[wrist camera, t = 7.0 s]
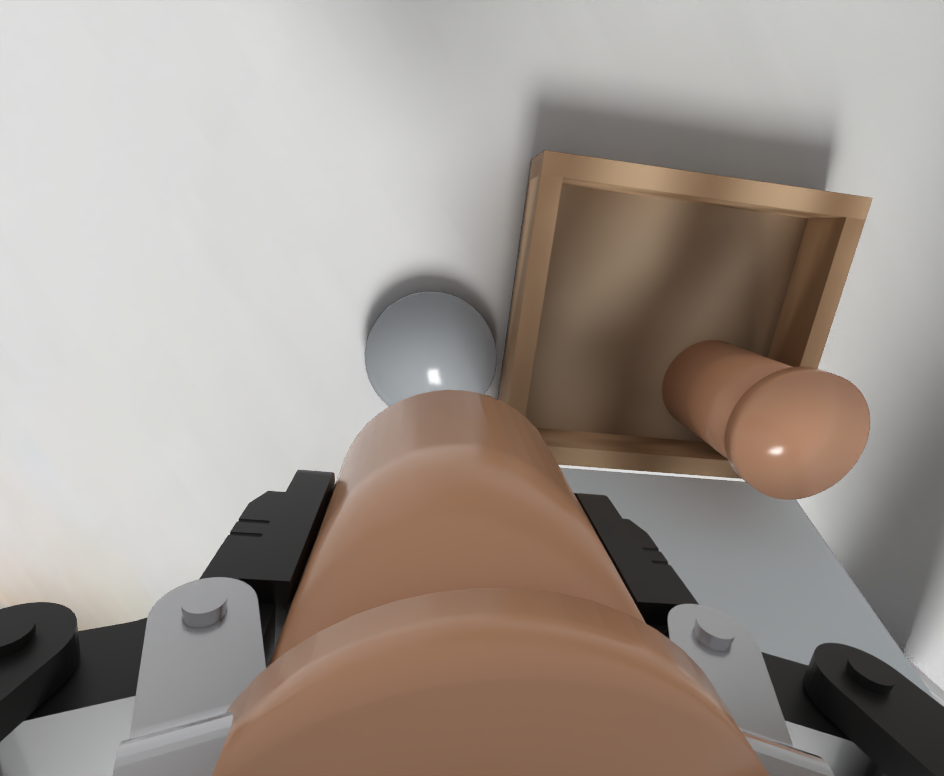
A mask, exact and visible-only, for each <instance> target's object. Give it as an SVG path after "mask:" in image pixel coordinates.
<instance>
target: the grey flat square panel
mask: <svg viewBox="0 0 944 776" xmlns="http://www.w3.org/2000/svg"><path fill="white" fill-rule="evenodd" d="M560 469H561V471H562V473H563V475H564V476H565V478H566V480H567V482H568V484H569V485H570V487H571V489H572V491H573V493H584V494H596V495H606V496H607V497H608V498H609V499H610V501H611V502H612V504H613V505H614V507H615V508H616V510H617V511H618V513H619V514H620V515H621V517H622V518H623V519H630V520H631V521H632V522H633V523H635V524H636V525H637V526H639V527H640V528H641V529H643V530H644V531H645V532H647V533H648V534H649V536H650V537H651V539H652V540H653V541H654V543H655V544H656V546H657V547H658V548H659V552H662V554H663V555H664V557H665V558H666V559H667V561H668V565H671V566H672V568H673V569H674V570H675V572H676V573H677V575H678V576H679V577H680V579H681V580H682V581H683V583H684V584H685V586H686V587H687V588H688V590H689V591H690V592H691V594H692V595H693V597H694V598H695V599H696V601H697V602H698V604H699V605H702V606H707V607H710V608H713V609H715V610H717V611H720V612H722V613H724V614H726V615H728V616H729V617H731V618H733V619H734V620H736V621H737V622H738V623H740V624H741V625H742V626H743V627H744V628H746V629H747V630H748V631H749V632H750V633H751V635H752V636H753V637H754V638H755V640H756V641H757V643H758V645H759V647H760V650H761V652H764V653H767V654H770V655H774V656H777V657H781V658H784V659H788V660H791V661H795V662H798V663H802V664H805V665H809V663H810V660H811V658H812V655H813V653H814V650H815V649H816V647H817V646H819V645H820V644H823V643H839V644H844V645H848V646H851V647H855V648H857V649H860V650H862V651H865V652H867V653H869V654H871V655H873V656H875V657H877V658H879V659H880V660H882V661H884V662H885V663H887V664H888V665H890V666H891V667H893V668H894V669H896V670H897V671H898V672H900V673H901V674H902V675H903V676H905V677H906V678H907V679H909V680H910V681H911V682H913V683H914V684H915V685H916V686H918V687H919V688H920V689H922V690H923V691H924V692H925V693H927V694H928V695H929V696H931V697H932V698H933V699H934V700H935V698H934V697H933V695H932V694H931V692H930V691H929V690H928V688H927V687H926V685H925V684H924V682H923V681H922V680H921V678H920V677H919V675H918V674H917V672H916V671H915V670H914V668H913V667H912V665H911V664H910V662H909V661H908V659H907V658H906V657H905V655H904V654H903V652H902V651H901V649H900V648H899V647H898V645H897V644H896V642H895V641H894V639H893V638H892V637H891V635H890V634H889V632H888V631H887V629H886V628H885V627H884V625H883V624H882V622H881V621H880V619H879V618H878V617H877V615H876V614H875V612H874V611H873V609H872V608H871V606H870V605H869V604H868V602H867V601H866V599H865V598H864V596H863V595H862V594H861V592H860V591H859V589H858V588H857V586H856V585H855V584H854V582H853V581H852V579H851V578H850V576H849V575H848V574H847V572H846V571H845V569H844V568H843V566H842V565H841V563H840V562H839V561H838V559H837V558H836V556H835V555H834V553H833V552H832V551H831V549H830V548H829V546H828V545H827V543H826V542H825V541H824V539H823V538H822V536H821V535H820V533H819V532H818V531H817V529H816V528H815V526H814V525H813V523H812V522H811V521H810V519H809V518H808V516H807V515H806V513H805V512H804V510H803V509H802V508H801V506H800V505H799V503H798V502H797V500H796V499H793V500H784V499H776V498H773V497H769V496H767V495H765V494H762V493H761V492H759V491H758V490H756V489H755V488H753V487H752V486H751V485H750V484H748V483H747V482H740V481H727V480H713V479H700V478H687V477H674V476H661V475H648V474H635V473H622V472H609V471H595V470H582V469H569V468H560Z"/></svg>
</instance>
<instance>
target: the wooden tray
mask: <svg viewBox="0 0 944 776" xmlns="http://www.w3.org/2000/svg"><path fill="white" fill-rule="evenodd" d="M871 201H872V198H870V197H863V196H856V195H850V194H843V193H836V192H829V191H822V190H815V189H808V188H801V187H795V186H788V185H781V184H774V183H767V182H760V181H753V180H746V179H739V178H733V177H726V176H719V175H712V174H705V173H698V172H691V171H684V170H678V169H671V168H664V167H657V166H650V165H643V164H636V163H629V162H622V161H616V160H609V159H602V158H595V157H588V156H581V155H574V154H567V153H561V152H554V151H547V150H544V151H543V152H542V153H540V154H539V155H537V156H536V157H535V158H533V159H532V160H531V164H530V171H529V179H528V186H527V193H526V200H525V207H524V214H523V221H522V228H521V236H520V243H519V250H518V257H517V264H516V271H515V278H514V286H513V293H512V300H511V307H510V314H509V321H508V328H507V335H506V343H505V350H504V357H503V364H502V371H501V378H500V385H499V392H498V400H500V401H502V402H504V403H506V404H508V405H509V406H511V407H512V408H514V409H516V410H517V411H519V412H520V413H521V414H522V415H523V416H525V417H526V418H527V419H528V420H529V421H530V422H531V423H532V424H533V425H534V427H535V428H536V429H537V430H538V431H539V433H540V434H541V436H542V437H543V439H544V440H545V442H546V444H547V446H548V447H549V449H550V451H551V453H552V455H553V457H554V458H555V460H556V462H557V464H559V465H572V466H585V467H598V468H611V469H624V470H637V471H649V472H662V473H675V474H688V475H701V476H714V477H727V478H740V479H742V478H741V477H740V476H739V475H738V474H737V473H736V472H735V471H734V470H733V468H732V467H731V465H730V463H729V461H728V459H727V458H726V457H724V456H723V455H722V454H720V453H719V452H718V451H717V450H715V449H714V448H713V447H711V446H710V445H709V444H707V443H706V442H705V441H703V440H702V439H701V438H699V437H698V436H697V435H696V434H694V433H693V432H692V431H690V430H689V429H688V428H686V427H685V426H684V425H682V424H681V423H680V422H679V421H677V420H676V419H675V418H674V417H673V416H672V415H671V414H670V413H669V412H668V410H667V408H666V406H665V404H664V401H663V395H662V385H663V380H664V377H665V374H666V371H667V369H668V368H669V366H670V364H671V363H672V361H673V360H674V359H675V358H676V357H677V356H678V355H679V354H680V353H681V352H682V351H683V350H685V349H686V348H688V347H690V346H692V345H694V344H696V343H699V342H702V341H708V340H719V341H724V342H727V343H730V344H733V345H735V346H738V347H741V348H743V349H746V350H749V351H751V352H754V353H757V354H759V355H762V356H765V357H767V358H770V359H773V360H776V361H778V362H781V363H784V364H786V365H789V366H792V367H799V366H802V367H813V368H818V365H819V362H820V359H821V356H822V353H823V350H824V347H825V344H826V341H827V337H828V334H829V331H830V328H831V325H832V322H833V319H834V316H835V313H836V310H837V307H838V303H839V300H840V297H841V294H842V291H843V288H844V285H845V282H846V279H847V276H848V272H849V269H850V266H851V263H852V260H853V257H854V254H855V251H856V248H857V245H858V241H859V238H860V235H861V232H862V229H863V226H864V223H865V220H866V217H867V214H868V211H869V207H870V204H871Z"/></svg>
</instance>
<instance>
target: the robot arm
mask: <svg viewBox="0 0 944 776" xmlns="http://www.w3.org/2000/svg"><path fill="white" fill-rule="evenodd" d="M334 486H335V475H334V473H333V472H321V471H308V470H298V471H297V472H296V474H295V476H294V478H293V480H292V481H291V483H290V485H289V487H288V489H287V491H286V492H275V491H267V492H266V493H264V494H263V495H261V496H260V497H258V498H256V499H255V500H253V501H252V502H250V503H249V504H248V506H247V507H246V509H245V510H244V512H243V513H242V515H241V516H240V518H239V522H236V524H235V526H234V527H233V529H232V530H231V532H230V535H228V536H227V538H226V539H225V541H224V542H223V544H222V545H221V547H220V548H219V550H218V552H217V553H216V555H215V556H214V558H213V559H212V561H211V562H210V564H209V565H208V567H207V568H206V570H205V571H204V573H203V574H202V576H201V578H200V579H199V580H195V581H192V582H189V583H186V584H184V585H181V586H179V587H177V588H175V589H173V590H171V591H170V592H168V593H167V594H165V595H164V596H163V597H162V598H161V599H159V600H158V601H157V602H156V604H155V605H154V606H153V607H152V609H151V611H150V612H149V615H148V618H144V619H141V620H138V621H133V622H129V623H124V624H118V625H112V626H106V627H101V628H95V629H89V630H83V631H78V627H77V618H76V616H75V614H74V613H73V612H72V611H71V610H70V609H69V608H67V607H65V606H63V605H60V604H56V603H49V602H36V603H26V604H20V605H15V606H11V607H7V608H3V609H0V776H212V774H213V771H214V768H215V766H216V763H217V761H218V758H219V756H220V753H221V751H222V748H223V746H224V743H225V741H226V738H227V736H228V733H229V730H230V727H231V724H232V720H233V713H232V712H228V713H226V711H227V710H228V709H229V707H230V706H231V704H232V703H233V701H234V700H235V699H236V698H237V697H238V696H239V695H240V694H241V693H242V691H243V690H244V689H245V688H246V687H247V686H248V685H249V684H250V683H251V682H252V681H253V680H254V679H255V677H256V676H257V675H259V674H260V673H261V672H262V671H263V670H265V669H266V668H267V667H268V666H269V664H270V661H271V658H272V655H273V653H274V650H275V647H276V645H277V642H278V639H279V636H280V634H281V631H282V628H283V625H284V623H285V620H286V617H287V614H288V612H289V609H290V606H291V604H292V601H293V598H294V595H295V593H296V590H297V587H298V584H299V582H300V579H301V576H302V574H303V571H304V568H305V565H306V563H307V560H308V557H309V554H310V552H311V549H312V546H313V543H314V541H315V538H316V535H317V533H318V530H319V527H320V524H321V522H322V519H323V516H324V513H325V511H326V508H327V505H328V503H329V500H330V497H331V494H332V492H333V489H334ZM574 494H575V496H576V498H577V500H578V502H579V503H580V505H581V507H582V509H583V511H584V512H585V514H586V516H587V518H588V520H589V521H590V523H591V525H592V527H593V529H594V530H595V532H596V534H597V536H598V538H599V540H600V541H601V543H602V545H603V547H604V549H605V550H606V552H607V554H608V556H609V558H610V559H611V561H612V563H613V565H614V567H615V568H616V570H617V572H618V574H619V576H620V577H621V579H622V581H623V583H624V585H625V586H626V588H627V590H628V592H629V594H630V595H631V597H632V599H633V601H634V603H635V604H636V606H637V608H638V610H639V612H640V613H641V615H642V617H643V619H644V621H645V623H646V624H647V625H649V626H651V627H653V628H655V629H656V630H658V631H659V632H660V633H662V634H663V635H664V636H666V637H667V638H668V639H670V640H671V641H672V642H674V643H675V644H676V645H678V646H679V647H680V648H682V649H683V650H684V651H685V652H686V653H687V654H688V656H689V657H690V658H691V659H692V660H693V661H694V662H695V663H696V664H697V665H698V666H699V667H700V668H701V669H702V670H703V672H704V673H705V675H706V676H707V678H708V679H709V681H710V682H711V684H712V685H713V687H714V688H715V690H716V691H717V693H718V694H719V696H720V697H721V699H722V701H723V702H724V704H725V705H726V707H727V709H728V710H729V712H730V713H731V715H732V717H733V718H734V720H735V721H736V723H737V725H738V726H739V728H740V729H741V731H742V732H743V734H744V736H745V737H746V739H747V740H748V742H749V744H750V745H751V747H752V748H753V750H754V752H755V753H756V755H757V756H758V758H759V760H760V761H761V763H762V764H763V766H764V768H765V769H766V771H767V772H768V774H769V776H944V691H943V690H942V689H941V688H940V687H939V686H937V685H936V684H935V683H934V682H933V681H932V680H931V679H930V678H928V677H927V676H926V675H925V674H924V673H923V672H922V671H921V670H920V669H918V668H917V667H916V666H915V665H914V664H913V663H912V662H911V661H909V660H908V661H909V662H910V664H911V665H912V667H913V668H914V670H915V671H916V672H917V674H918V675H919V677H920V678H921V680H922V681H923V682H924V684H925V685H926V687H927V688H928V690H929V691H930V692H931V694H932V695H933V697H934V698H935V700H934V699H933V698H932V697H931V696H929V695H928V694H927V693H925V692H924V691H923V690H922V689H920V688H919V687H918V686H916V685H915V684H914V683H913V682H911V681H910V680H909V679H907V678H906V677H905V676H903V675H902V674H901V673H900V672H898V671H897V670H896V669H894V668H893V667H891V666H890V665H888V664H887V663H885V662H884V661H882V660H880V659H879V658H877V657H875V656H873V655H871V654H869V653H867V652H865V651H862V650H860V649H857V648H855V647H851V646H848V645H844V644H839V643H823V644H820V645H819V646H817V647H816V649H815V650H814V653H813V655H812V658H811V660H810V663H809V665H805V664H802V663H798V662H795V661H791V660H788V659H784V658H781V657H777V656H774V655H770V654H767V653H764V652H761V650H760V647H759V645H758V643H757V641H756V640H755V638H754V637H753V636H752V635H751V633H750V632H749V631H748V630H747V629H746V628H744V627H743V626H742V625H741V624H740V623H738V622H737V621H736V620H734V619H733V618H731V617H729V616H728V615H726V614H724V613H722V612H720V611H717V610H715V609H713V608H710V607H707V606H702V605H699V604H698V602H697V601H696V599H695V598H694V597H693V595H692V594H691V592H690V591H689V590H688V588H687V587H686V586H685V584H684V583H683V581H682V580H681V579H680V577H679V576H678V575H677V573H676V572H675V570H674V569H673V568H672V566H671V565H668V561H667V559H666V558H665V557H664V555H663V554H662V552H659V548H658V547H657V546H656V544H655V543H654V541H653V540H652V539H651V537H650V536H649V534H648V533H647V532H645V531H644V530H643V529H641V528H640V527H639V526H637V525H636V524H635V523H633V522H632V521H631V520H630V519H623V518H622V517H621V515H620V514H619V513H618V511H617V510H616V508H615V507H614V505H613V504H612V502H611V501H610V499H609V498H608V497H607V496H606V495H596V494H584V493H574Z"/></svg>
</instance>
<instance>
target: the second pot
mask: <svg viewBox="0 0 944 776" xmlns="http://www.w3.org/2000/svg"><path fill="white" fill-rule="evenodd" d="M662 395H663V401H664V404H665V406H666V408H667V410H668V412H669V413H670V414H671V415H672V416H673V417H674V418H675V419H676V420H677V421H679V422H680V423H681V424H682V425H684V426H685V427H686V428H688V429H689V430H690V431H692V432H693V433H694V434H696V435H697V436H698V437H699V438H701V439H702V440H703V441H705V442H706V443H707V444H709V445H710V446H711V447H713V448H714V449H715V450H717V451H718V452H719V453H720V454H722V455H723V456H724V457H726V458H727V459H728V461H729V463H730V465H731V467H732V468H733V470H734V471H735V472H736V473H737V474H738V475H739V476H740V477H741V478H742V479H743V480H745V481H746V482H747V483H748V484H750V485H751V486H752V487H753V488H755V489H756V490H758V491H759V492H761V493H762V494H765V495H767V496H769V497H773V498H776V499H784V500H793V499H801V498H806V497H810V496H812V495H815V494H818V493H820V492H822V491H824V490H826V489H828V488H829V487H831V486H833V485H834V484H835V483H837V482H838V481H839V480H841V479H842V478H843V477H844V476H845V475H846V474H847V473H848V472H849V471H850V470H851V469H852V467H853V466H854V465H855V463H856V462H857V461H858V459H859V457H860V456H861V454H862V452H863V450H864V447H865V445H866V442H867V439H868V436H869V430H870V414H869V409H868V405H867V402H866V400H865V398H864V396H863V395H862V393H861V392H860V390H859V389H858V388H857V387H856V386H855V385H854V384H852V383H851V382H850V381H848V380H846V379H844V378H843V377H840V376H837V375H835V374H832V373H829V372H826V371H823V370H820V369H817V368H813V367H802V366H799V367H792V366H789V365H786V364H784V363H781V362H778V361H776V360H773V359H770V358H767V357H765V356H762V355H759V354H757V353H754V352H751V351H749V350H746V349H743V348H741V347H738V346H735V345H733V344H730V343H727V342H724V341H719V340H708V341H702V342H699V343H696V344H694V345H692V346H690V347H688V348H686V349H685V350H683V351H682V352H681V353H680V354H679V355H678V356H677V357H676V358H675V359H674V360H673V361H672V363H671V364H670V366H669V368H668V369H667V371H666V374H665V377H664V380H663V385H662Z"/></svg>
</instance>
